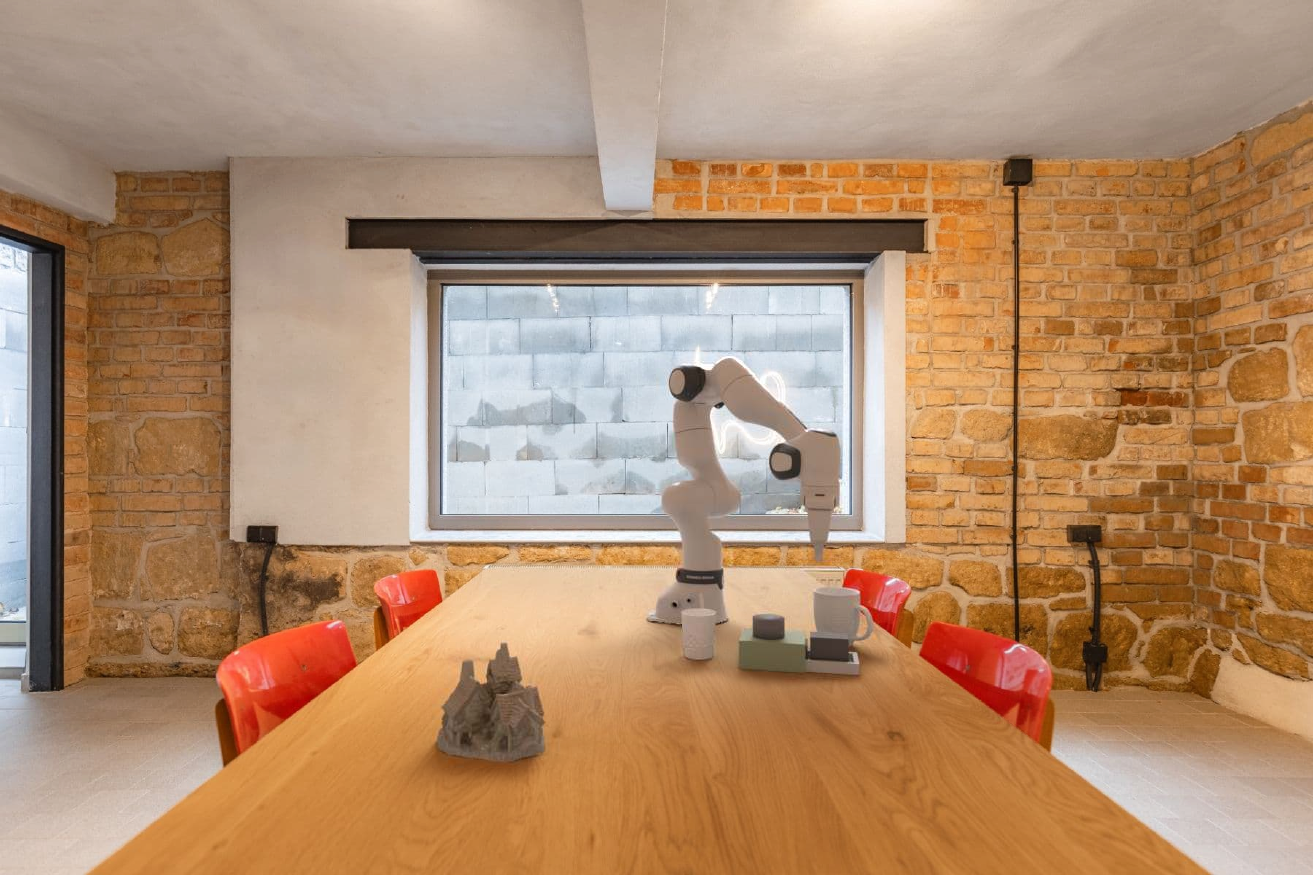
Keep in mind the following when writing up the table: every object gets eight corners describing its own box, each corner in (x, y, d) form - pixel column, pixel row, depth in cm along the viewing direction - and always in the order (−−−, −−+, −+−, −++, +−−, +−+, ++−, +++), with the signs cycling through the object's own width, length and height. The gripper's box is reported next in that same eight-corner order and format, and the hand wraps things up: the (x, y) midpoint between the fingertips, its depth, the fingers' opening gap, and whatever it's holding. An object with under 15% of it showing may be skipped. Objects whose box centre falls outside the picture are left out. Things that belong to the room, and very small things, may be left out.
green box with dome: (738, 668, 149) (738, 621, 149) (744, 654, 159) (743, 610, 160) (859, 676, 143) (859, 628, 143) (856, 661, 154) (856, 616, 154)
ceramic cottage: (432, 732, 114) (438, 642, 114) (531, 721, 120) (536, 636, 120) (443, 779, 100) (448, 676, 99) (554, 764, 106) (560, 666, 106)
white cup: (716, 651, 162) (716, 608, 162) (715, 661, 154) (715, 616, 154) (682, 650, 163) (682, 607, 163) (680, 660, 155) (680, 615, 155)
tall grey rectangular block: (848, 667, 147) (848, 639, 147) (810, 665, 148) (810, 637, 149) (847, 661, 151) (847, 633, 152) (810, 658, 153) (810, 631, 153)
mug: (884, 648, 164) (883, 593, 165) (860, 657, 157) (859, 599, 157) (829, 636, 175) (829, 584, 176) (804, 644, 168) (804, 590, 168)
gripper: (807, 494, 171) (806, 549, 171) (804, 501, 152) (803, 564, 152) (833, 495, 170) (832, 551, 170) (834, 502, 150) (833, 566, 150)
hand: (818, 557), depth 161 cm, fingers open, 8 cm apart
